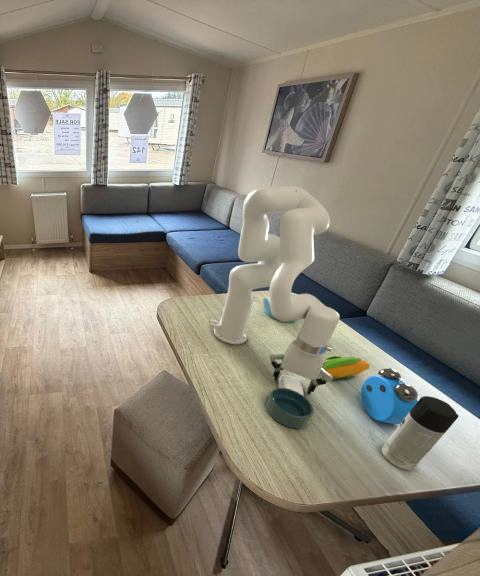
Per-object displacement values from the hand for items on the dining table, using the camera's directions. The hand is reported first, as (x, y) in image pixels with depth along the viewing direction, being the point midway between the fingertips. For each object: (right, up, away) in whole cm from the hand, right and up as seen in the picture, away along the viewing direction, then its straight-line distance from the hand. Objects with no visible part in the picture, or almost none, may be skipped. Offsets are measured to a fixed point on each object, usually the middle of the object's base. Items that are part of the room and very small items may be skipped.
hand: (291, 385), depth 101 cm
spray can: (+15, -13, -20) cm, 28 cm away
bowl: (-7, -6, -8) cm, 12 cm away
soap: (0, -2, +1) cm, 2 cm away
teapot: (+22, +19, +41) cm, 51 cm away
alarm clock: (+21, -7, -8) cm, 23 cm away
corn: (+22, +1, +8) cm, 24 cm away
